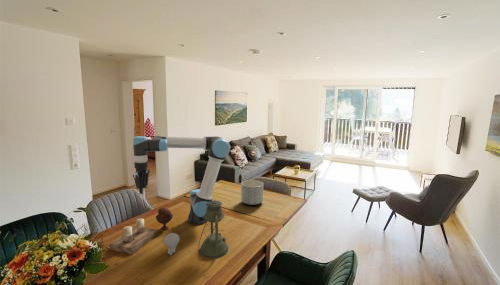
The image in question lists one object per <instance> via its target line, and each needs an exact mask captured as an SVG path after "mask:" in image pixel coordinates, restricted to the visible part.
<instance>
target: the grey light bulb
mask: <svg viewBox="0 0 500 285" xmlns="http://www.w3.org/2000/svg"><path fill="white" fill-rule="evenodd" d="M179 242H180V236H179V234H177V233H176V232H175V233H174V232H172V233H168V234H166V235H165V237H164V239H163V243H164V245H165V246H166V247H168V249H167V254H168V255H170V256H172V255H173V254H175V253H176V248H177V247H178V244H179Z"/></svg>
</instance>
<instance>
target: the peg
mask: <svg viewBox="0 0 500 285" xmlns="http://www.w3.org/2000/svg"><path fill="white" fill-rule="evenodd" d="M132 228H133V227H132V225H127V226H124V227H123V234H124V242H125V243H128V244H129V243H131V242H132V241H133V236H132Z"/></svg>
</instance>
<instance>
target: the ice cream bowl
mask: <svg viewBox="0 0 500 285" xmlns="http://www.w3.org/2000/svg"><path fill="white" fill-rule="evenodd" d="M157 213H158V214H156V215H155V219H156V221H157V223H159V224H162V225H163V226H161V227H160V230H161V231H162V232H163V231H164V232H165V231H168V230H169V226H167V224H168V223H169V222H171V220H172V219H173V216H174V215H173V213H172V211H171V210H170V209H168V208H166V207H160V208H159V209H158V211H157Z"/></svg>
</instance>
